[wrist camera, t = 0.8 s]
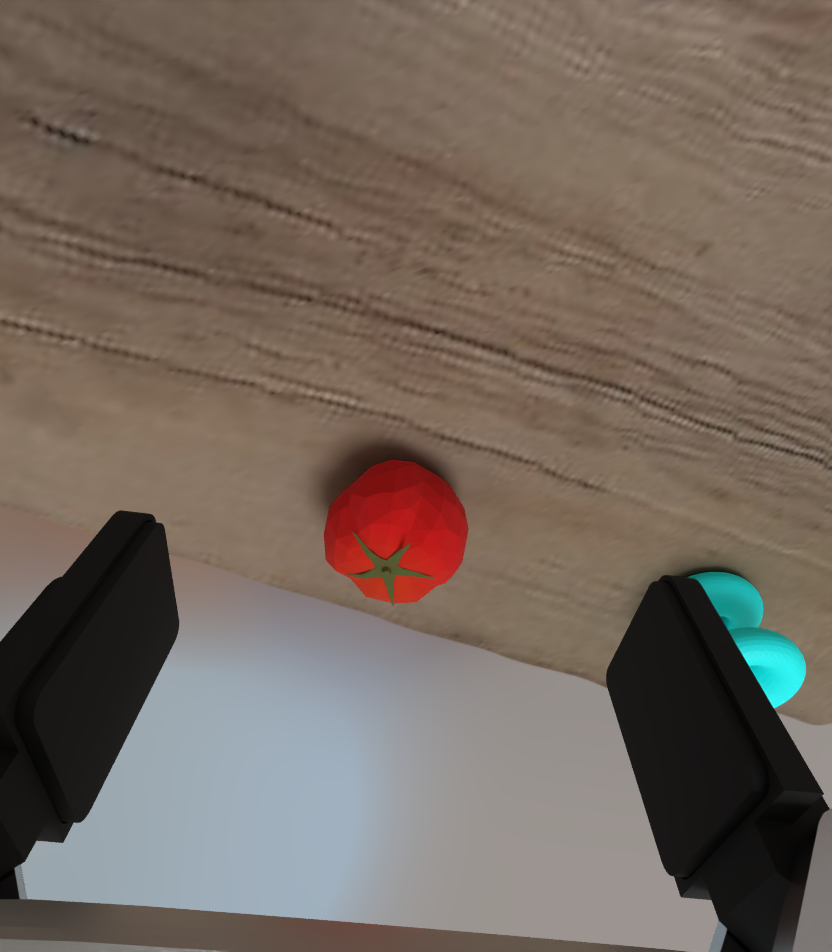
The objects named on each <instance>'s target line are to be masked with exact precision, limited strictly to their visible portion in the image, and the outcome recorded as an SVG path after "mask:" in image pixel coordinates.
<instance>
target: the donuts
mask: <svg viewBox="0 0 832 952" xmlns="http://www.w3.org/2000/svg"><path fill="white" fill-rule="evenodd" d="M687 578H694V579H696V580H698V581H699V582H700V584H701V585H702V587H703V588H704V590H705V592H706V593H707V595H708V597H709V599H710V600H711V602H712V604H713V605H714V607H715V609H716V611H717V612H718V614H719V616H720V617H721V619H722V621H723V622H724V624H725V626H726V628H727V629H728V631H729V633H730V634H731V636H732V638H733V640H734V641H735V643H736V645H737V646H738V648H739V650H740V652H741V653H742V655H743V657H744V658H745V660H746V662H747V663H748V665H749V667H750V669H751V670H752V672H753V674H754V675H755V677H756V679H757V681H758V682H759V684H760V686H761V687H762V689H763V691H764V692H765V694H766V696H767V698H768V699H769V701H770V703H771V704H772V706H773V708H776V707H778V706H780V705H781V704H783V703H785V702H786V701H788V700H789V699H790V698H791V697H792V696H794V694H795V693H796V692H797V691H798V690H799V688H800V687H801V685H802V683H803V681H804V678H805V674H806V663H805V660H804V657H803V655H802V653H801V651H800V650H799V648H798V647H797V646H796V645H795V644H794V643H793V642H792V641H791V640H789V639H788V638H786V637H785V636H783V635H781V634H779V633H777V632H774V631H771V630H767V629H763V628H758V626H759V625H760V622H761V620H762V616H763V602H762V599H761V596H760V594H759V592H758V591H757V590H756V588H755V587H754V586H753V585H752V584H751V583H749V582H748V581H747V580H745V579H743V578H742V577H739V576H737V575H734V574H730V573H725V572H705V573H700V574H695V575H692V576H689V577H687Z"/></svg>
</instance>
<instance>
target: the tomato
mask: <svg viewBox="0 0 832 952" xmlns="http://www.w3.org/2000/svg"><path fill="white" fill-rule="evenodd" d="M467 534H468V524H467V519H466V514H465V510H464V507H463V505H462V504H461V502H460V500H459V499H458V497H457V496H456V494H455V492H454V491H453V489H452V488H451V486H450V485H449V484H448V483H446V482H445V481H444V480H443V479H441V478H440V477H439V476H437V475H436V474H434V473H432V472H430V471H428V470H427V469H425V468H423V467H421V466H420V465H418V464H416V463H414V462H409V461H401V460H389V461H386V462H383V463H379V464H376V465H373V466H371V467H370V468H369V469H368V470H367V471H366V472H365V473H364V474H362V475H361V476H360V477H359V478H358V479H357V480H356V481H355V482H353V483H352V484H351V485H350V486H349V487H348V488H346V489H345V490H344V491H343V492H342V493H341V494H340V495H339V496H338V497H337V499H336V500H335V501H334V502H333V504H332V505H331V506H330V507H329V512H328V517H327V521H326V526H325V531H324V542H325V556H326V561H327V562H328V563H329V564H330V565H331V566H332V567H333V568H334V569H335V571H337V572H339V573H341V574H343V575H345V576H347V577H349V578H351V580H352V581H353V582H354V583H355V584H356V585H357V587H358V588H359V589H360V590H361V591H362V592H363V594H364V595H365V596H366V597H369V598H373V599H377V600H382V601H386V602H391V603H392V605H393V606H394V603H408V602H417V601H418V600H420V599H421V598H422V597H424V596H425V595H426V594H427V593H428V592H430V591H431V590H432V589H433V588H435V587H436V586H438V585H441V584H443V583H445V582H446V581H448V580H449V579H450V578H451V577H452V575H453V574H454V573H455V572H456V570H457V569H458V568H459V566H460V564H461V563H462V560H463V555H464V550H465V545H466V540H467Z"/></svg>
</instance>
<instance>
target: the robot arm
mask: <svg viewBox="0 0 832 952" xmlns="http://www.w3.org/2000/svg"><path fill="white" fill-rule="evenodd" d="M178 629H179V618H178V611H177V604H176V598H175V592H174V586H173V579H172V573H171V566H170V560H169V553H168V547H167V540H166V534H165V528H164V525H163V524H162V523H156V520H155V517H154V516H153V515H152V514H146V513H138V512H129V511H121V510H120V511H117V512H116V513H115V514H114V515H113V516H112V517H111V518H110V519H109V521H108V522H107V523H106V524H105V525H104V527H103V528H102V529H101V530H100V532H99V533H98V534H97V535H96V536H95V538H94V539H93V540H92V541H91V542H90V544H89V545H88V546H87V547H86V549H85V550H84V551H83V552H82V553H81V555H80V556H79V557H78V558H77V560H76V561H75V562H74V563H73V565H72V566H71V567H70V568H69V569H68V570H67V572H66V573H65V574H64V575H63V577H59V578H57V579H55V580H53V581H52V582H51V583H50V584H49V585H48V586H47V587H46V588H45V589H44V590H43V591H42V593H41V594H40V595H39V596H38V598H37V599H36V600H35V601H34V602H33V603H32V605H31V606H30V607H29V608H28V609H27V610H26V612H25V613H24V614H23V615H22V617H21V618H20V619H19V620H18V621H17V622H16V624H15V625H14V626H13V627H12V628H11V630H10V631H9V632H8V633H7V634H6V636H5V637H4V638H3V639H2V641H0V952H685V951H675V950H666V949H655V948H644V947H633V946H621V945H610V944H599V943H587V942H576V941H564V940H553V939H542V938H530V937H518V936H508V935H496V934H483V933H472V932H460V931H447V930H436V929H425V928H413V927H400V926H387V925H376V924H364V923H352V922H340V921H328V920H315V919H303V918H290V917H277V916H264V915H252V914H239V913H226V912H213V911H200V910H187V909H175V908H161V907H148V906H134V905H117V904H100V903H83V902H65V901H49V900H32V899H30V900H29V899H27V895H26V890H25V884H24V879H23V874H22V869H21V864H22V863H23V862H25V860H26V859H27V857H28V855H29V853H30V851H31V850H32V848H33V846H34V844H35V842H36V841H48V842H59V843H63V842H64V840H65V838H66V836H67V834H68V832H69V831H70V828H71V827H72V825H73V823H74V822H75V823H79V822H82V821H83V820H84V819H85V818H86V816H87V815H88V813H89V812H90V810H91V808H92V806H93V804H94V802H95V800H96V798H97V796H98V794H99V792H100V790H101V788H102V786H103V784H104V782H105V780H106V778H107V776H108V774H109V772H110V770H111V768H112V765H113V764H114V762H115V760H116V758H117V756H118V754H119V752H120V750H121V748H122V746H123V744H124V742H125V740H126V738H127V736H128V734H129V732H130V730H131V728H132V726H133V724H134V722H135V720H136V718H137V716H138V714H139V712H140V710H141V708H142V706H143V704H144V702H145V700H146V698H147V696H148V694H149V692H150V690H151V688H152V686H153V684H154V682H155V680H156V678H157V676H158V674H159V672H160V670H161V668H162V666H163V664H164V662H165V660H166V658H167V656H168V654H169V652H170V650H171V648H172V646H173V644H174V642H175V640H176V637H177V634H178ZM606 681H607V687H608V691H609V694H610V697H611V700H612V703H613V707H614V710H615V713H616V716H617V720H618V723H619V726H620V729H621V732H622V736H623V739H624V742H625V745H626V748H627V752H628V755H629V758H630V761H631V765H632V768H633V771H634V774H635V777H636V781H637V784H638V787H639V790H640V793H641V796H642V800H643V803H644V806H645V810H646V813H647V816H648V819H649V822H650V826H651V829H652V832H653V835H654V838H655V842H656V845H657V848H658V851H659V855H660V858H661V861H662V863H663V866H664V868H665V870H666V872H667V873H668V874H669V875H670V876H674V878H675V881H676V884H677V887H678V890H679V893H680V896H681V897H684V898H695V899H706V900H712V902H713V905H714V908H715V911H716V914H717V916H718V919H719V920H718V924H717V927H716V930H715V933H714V936H713V939H712V943H711V946H710V949H709V952H832V809H829V807H828V805H827V804H826V802H825V800H824V799H823V797H822V795H823V794H824V793H823V792H822V790H821V788H820V787H819V785H818V783H817V781H816V780H815V778H814V776H813V775H812V773H811V771H810V769H809V768H808V766H807V764H806V763H805V761H804V759H803V758H802V756H801V754H800V752H799V751H798V749H797V747H796V745H795V744H794V742H793V740H792V739H791V737H790V735H789V733H788V732H787V730H786V728H785V727H784V725H783V723H782V721H781V720H780V718H779V716H778V715H777V713H776V711H775V710H774V708H773V706H772V704H771V703H770V701H769V699H768V698H767V696H766V694H765V692H764V691H763V689H762V687H761V686H760V684H759V682H758V681H757V679H756V677H755V675H754V674H753V672H752V670H751V669H750V667H749V665H748V663H747V662H746V660H745V658H744V657H743V655H742V653H741V652H740V650H739V648H738V646H737V645H736V643H735V641H734V640H733V638H732V636H731V634H730V633H729V631H728V629H727V628H726V626H725V624H724V622H723V621H722V619H721V617H720V616H719V614H718V612H717V611H716V609H715V607H714V605H713V604H712V602H711V600H710V599H709V597H708V595H707V593H706V592H705V590H704V588H703V587H702V585H701V584H700V582H699V581H698V580H696V579H694V578H687V577H678V576H670V575H664V576H662V577H661V578H660V579H659V581H658V582H657V581H655V582H652V583H651V584H650V586H649V588H648V590H647V592H646V594H645V596H644V598H643V600H642V602H641V604H640V606H639V608H638V610H637V611H636V613H635V615H634V617H633V619H632V621H631V623H630V625H629V627H628V629H627V631H626V633H625V635H624V637H623V639H622V641H621V643H620V645H619V647H618V649H617V651H616V653H615V655H614V657H613V659H612V661H611V663H610V665H609V667H608V669H607V674H606Z"/></svg>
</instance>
